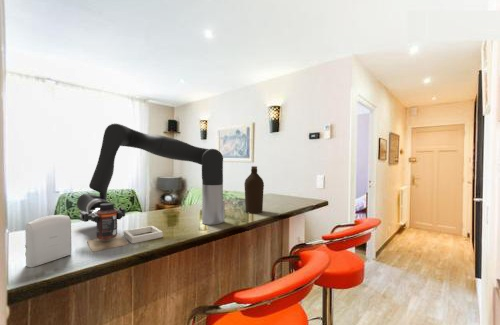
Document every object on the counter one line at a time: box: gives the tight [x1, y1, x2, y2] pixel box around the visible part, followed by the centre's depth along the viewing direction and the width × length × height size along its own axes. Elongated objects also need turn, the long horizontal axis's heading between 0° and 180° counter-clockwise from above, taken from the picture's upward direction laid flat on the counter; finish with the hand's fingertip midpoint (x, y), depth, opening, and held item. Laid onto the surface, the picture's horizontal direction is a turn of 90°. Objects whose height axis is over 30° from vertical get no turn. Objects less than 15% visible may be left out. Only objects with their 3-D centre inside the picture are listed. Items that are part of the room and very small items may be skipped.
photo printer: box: [24, 214, 72, 268], centre depth 67 cm, size 10×4×12 cm, turn 156°
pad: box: [86, 234, 129, 252], centre depth 81 cm, size 10×11×1 cm
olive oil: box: [244, 165, 265, 214], centre depth 133 cm, size 11×11×25 cm
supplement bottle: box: [96, 202, 118, 240], centre depth 81 cm, size 6×6×11 cm
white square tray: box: [123, 225, 164, 244], centre depth 89 cm, size 10×10×2 cm
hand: (108, 217), depth 79 cm, fingers closed on supplement bottle, 6 cm apart
